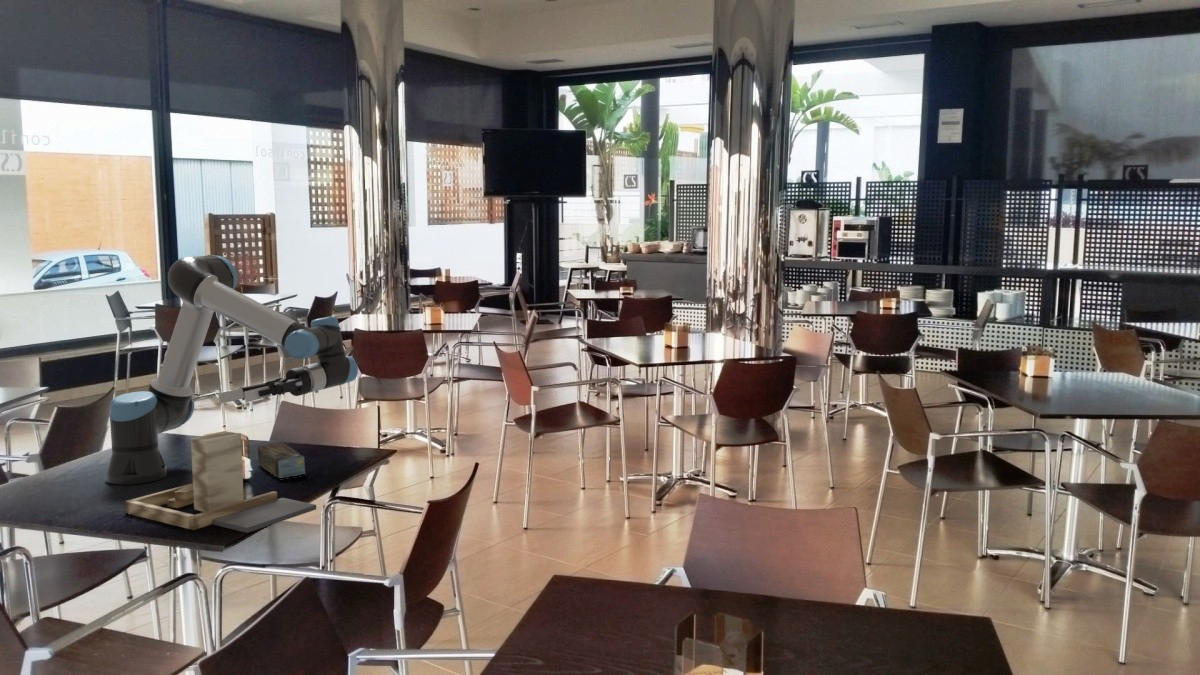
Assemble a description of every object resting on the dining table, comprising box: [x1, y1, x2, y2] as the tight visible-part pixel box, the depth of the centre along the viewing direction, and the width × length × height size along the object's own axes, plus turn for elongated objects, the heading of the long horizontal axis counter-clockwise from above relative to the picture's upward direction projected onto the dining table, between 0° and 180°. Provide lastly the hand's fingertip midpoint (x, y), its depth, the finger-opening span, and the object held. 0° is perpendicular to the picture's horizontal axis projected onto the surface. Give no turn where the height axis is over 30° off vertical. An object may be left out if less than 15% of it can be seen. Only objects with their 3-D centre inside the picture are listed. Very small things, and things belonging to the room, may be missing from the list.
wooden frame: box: [124, 482, 278, 531], centre depth 236 cm, size 26×24×3 cm
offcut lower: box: [166, 497, 194, 509], centre depth 242 cm, size 4×11×2 cm, turn 156°
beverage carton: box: [257, 442, 306, 479], centre depth 272 cm, size 8×19×7 cm, turn 36°
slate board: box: [212, 497, 317, 534], centre depth 229 cm, size 12×21×1 cm, turn 150°
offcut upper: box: [175, 482, 194, 500], centre depth 242 cm, size 3×9×2 cm, turn 172°
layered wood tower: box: [190, 430, 245, 513], centre depth 237 cm, size 6×10×18 cm, turn 150°
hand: (232, 397), depth 242 cm, fingers open, 13 cm apart
